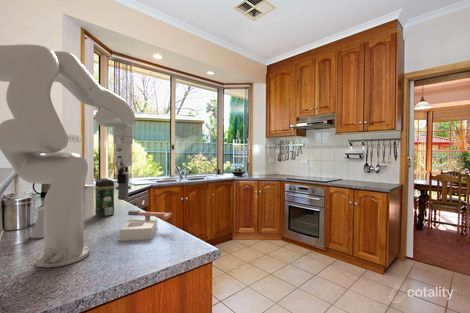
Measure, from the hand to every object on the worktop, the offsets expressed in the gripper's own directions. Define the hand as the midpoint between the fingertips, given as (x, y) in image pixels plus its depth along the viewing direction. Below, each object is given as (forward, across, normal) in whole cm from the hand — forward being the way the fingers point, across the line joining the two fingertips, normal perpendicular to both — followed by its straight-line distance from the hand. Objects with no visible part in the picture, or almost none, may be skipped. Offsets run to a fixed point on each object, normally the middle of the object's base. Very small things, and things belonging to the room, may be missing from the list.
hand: (123, 182), depth 99 cm
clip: (+13, -9, -12) cm, 20 cm away
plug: (+7, 0, 0) cm, 7 cm away
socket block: (+19, -12, -9) cm, 24 cm away
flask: (+19, -8, +26) cm, 33 cm away
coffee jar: (+19, +20, +14) cm, 31 cm away
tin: (+19, +10, +32) cm, 39 cm away
